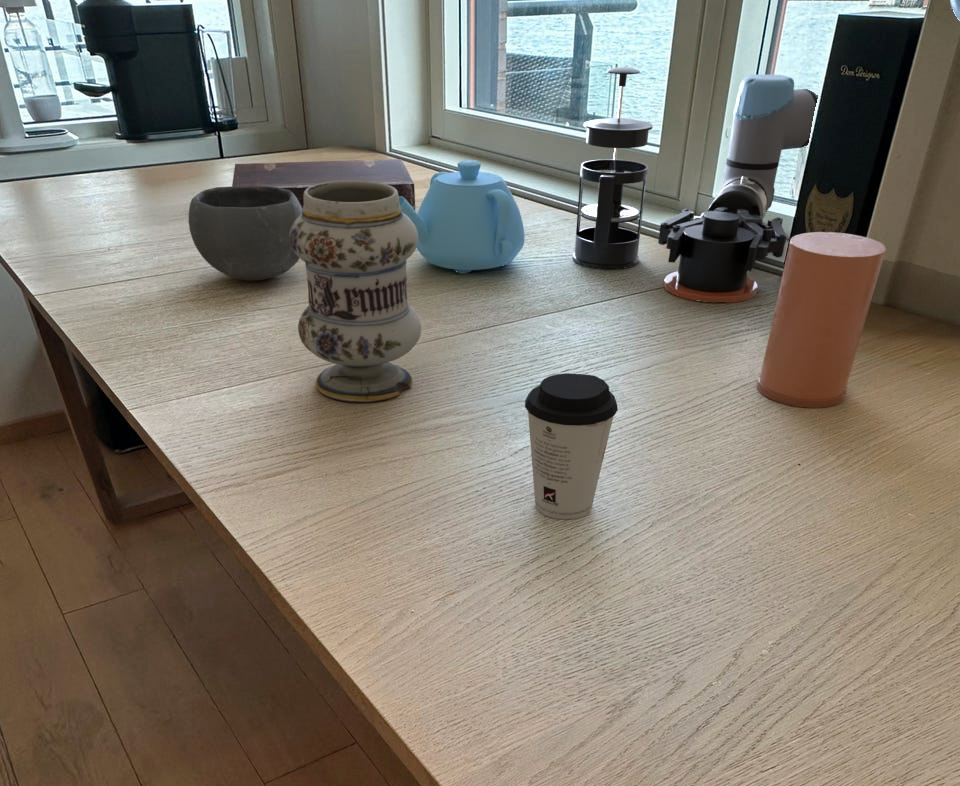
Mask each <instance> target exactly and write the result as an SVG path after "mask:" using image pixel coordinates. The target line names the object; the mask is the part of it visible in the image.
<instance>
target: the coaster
mask: <svg viewBox="0 0 960 786" xmlns="http://www.w3.org/2000/svg"><path fill="white" fill-rule="evenodd" d="M677 275H678V270H676V271H674V272H673V271H672V272H671V273H669V274H667V275H666V276H665V277H664V281H663V287H664V290H665V291H667V292H668V293H669V292H670V294H671V293H672V294H671V295H673V294H674V295H673V296H675V295H676V297H678V296H679V297H678V298H681V297H682V298H681V299H684V298H686V299H685V300H688V299H692V300H691V301H693V300H700V301H707V302H725V303H724V304H731V303H732V302H733V303H739V302H745V301H748V300H750V299H752V298H754V297H755V296H756V295H757V293H758V292H757V291H758V288H759V286H758V283H757V282H756V281H755V280H754V279H753V278H751V277H749V276H747V277H746V282H745V286H744V287H743V288H742V289H740V290H737V291H732V292H720V293H718V292H704V291H698V290H693V289H690V288H687V287H684V286H682V285H680V284H679V283H678V282H677ZM707 302H706V303H707ZM726 302H727V303H726ZM729 302H730V303H729Z"/></svg>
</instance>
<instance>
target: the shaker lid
mask: <svg viewBox="0 0 960 786" xmlns="http://www.w3.org/2000/svg"><path fill="white" fill-rule="evenodd" d="M739 220H740V216H738V215H736V214H733V213H728V212H709V213H706V214H704V219H703V225H695V226H691V227H688V228H686V229H685V230H684V234H683V241H682V247H681V254H680V256H679V261H678V270H677V271H678V275H677V282H678V283H679V284H680V285H682V286H684V287H687V288H690V289H693V290H698V291H704V292H718V293H720V292H732V291H737V290H740V289H742V288H743V287H744V286H745V282H746V277H748V273H749V271H745V268H746V262H747V257H748V252H749V247H750V245H751V243H752V241H753V239H754V237H755V236H754V234H753V233H752V232H751V231H749V230H746V229H743V228H740V227H738V225H739Z"/></svg>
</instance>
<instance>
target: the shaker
mask: <svg viewBox="0 0 960 786" xmlns="http://www.w3.org/2000/svg"><path fill="white" fill-rule="evenodd" d="M886 251H887V247H886V246H885V245H884V244H883V243H882V242H880V241H878V240H875V239H872V238H870V237H866V236H863V235H858V234H851V233H843V232H833V231H813V232H804V233H800V234H796V235H793V236H792V237H791V238H790V239H789V244H788V248H787V252H786V257H785V262H784V266H783V269H782V270H783V272H782V275H781V280H780V284H779V289H778V293H777V297H776V303H775V307H774V312H773V315H772V316H773V317H772V320H771V325H770V329H769V334H768V338H767V343H766V348H765V353H764V357H763V362H762V366H761V371H760V374H759V376H758V377H757V380H756V381H757V382H756V388H757V390H758V391H759V393H760V394H761V395H763V396H764V397H766V398H768V399H770V400H772V401H774V402H776V403H780V404H783V405H787V406H791V407H797V408H807V409H818V408H820V409H821V408H829V407H832V406H835V405H838V404H840V403H842V402H843V401H844V400H845V398H846V395H847V391H848V383H849V379H850V376H851V372H852V369H853V365H854V362H855V359H856V355H857V352H858V349H859V345H860V341H861V339H862V338H861V337H862V335H863V331H864V327H865V325H866V322H867V321H866V320H867V317H868V314H869V311H870V308H871V307H870V306H871V303H872V300H873V297H874V294H875V290H876V287H877V282H878V279H879V275H880V272H881V268H882V265H883V263H884V258H885V255H886Z"/></svg>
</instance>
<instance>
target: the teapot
mask: <svg viewBox="0 0 960 786" xmlns="http://www.w3.org/2000/svg"><path fill="white" fill-rule="evenodd" d="M481 165H482V163H481V162H479V161H477V160H460V161H459V162H457V169H458V171H453V172H446V171H438V172H435V173H434V174H433V175H432V176H431V178H430V183H429V188H428V189H427V192H426V193H425V196H424V198H423V199H422V201H421V203H420V206H419V209H418V211H416V209H415V210H414V209H413V208H412V206H411V205H410V204H409V203H408V202H407V201H406V199H405V198H404V197H403V196H399V204H400V206H401V211H402V212H403V213H404V214H405V215H406V216H408V217H409V218H410V220H411V221H412V222H413V224H414V225H415V227H416V230H417V233H418V243H417V247H416V249H417V250H418V252H419V254H420V255H421V256H422V258H424V259H425V260H426V262H428V263H430V264H431V265H433V266H436V267H440V268H445V269H451V270H454V272H455V271H457V272H459V273H458V274H467V273H466V272H470V273H472V272H473V271H479V270H489V269H496V268H500V266H501V267H504V266H503V265H505V266H507V265H508V264H510V263H511V262H512V261H514V259H516V257H517V255H518V254H519V253H520V252H521V251H522V249H523V247H524V245H525V228H524V222H523V217H522V214H521V212H520V211H521V210H520V208H519V206H518V204H517V202H516V200H515V197H514V195H513V194H512V192H511V190H510V188H509V186H508V184H507V182H506V181H505V180H504V179H503V178H502V176H500V175H498V174H495V173H491V172H485V171H480V169H481ZM471 271H472V272H471ZM457 272H456V273H457Z"/></svg>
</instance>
